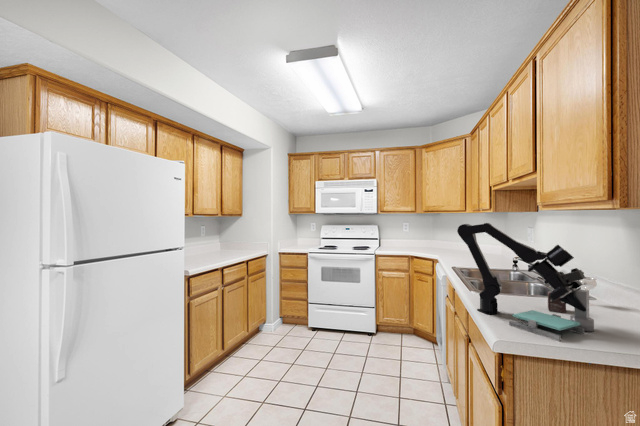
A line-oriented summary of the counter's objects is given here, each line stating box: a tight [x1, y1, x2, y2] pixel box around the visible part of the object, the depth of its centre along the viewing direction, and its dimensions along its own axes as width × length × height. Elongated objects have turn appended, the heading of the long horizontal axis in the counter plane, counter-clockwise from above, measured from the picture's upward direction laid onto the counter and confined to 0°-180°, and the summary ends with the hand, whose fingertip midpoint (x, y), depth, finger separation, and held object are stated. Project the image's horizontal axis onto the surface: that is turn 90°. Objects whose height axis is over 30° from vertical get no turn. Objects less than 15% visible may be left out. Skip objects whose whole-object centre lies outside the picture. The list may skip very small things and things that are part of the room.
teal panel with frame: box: [508, 313, 585, 342], centre depth 113 cm, size 17×15×4 cm
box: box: [547, 291, 567, 314], centre depth 135 cm, size 6×6×7 cm
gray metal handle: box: [569, 288, 595, 332], centre depth 113 cm, size 7×7×14 cm
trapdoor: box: [512, 309, 580, 331], centre depth 113 cm, size 16×12×2 cm
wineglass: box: [578, 276, 598, 307], centre depth 144 cm, size 7×7×12 cm
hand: (586, 309), depth 112 cm, fingers closed on gray metal handle, 3 cm apart
